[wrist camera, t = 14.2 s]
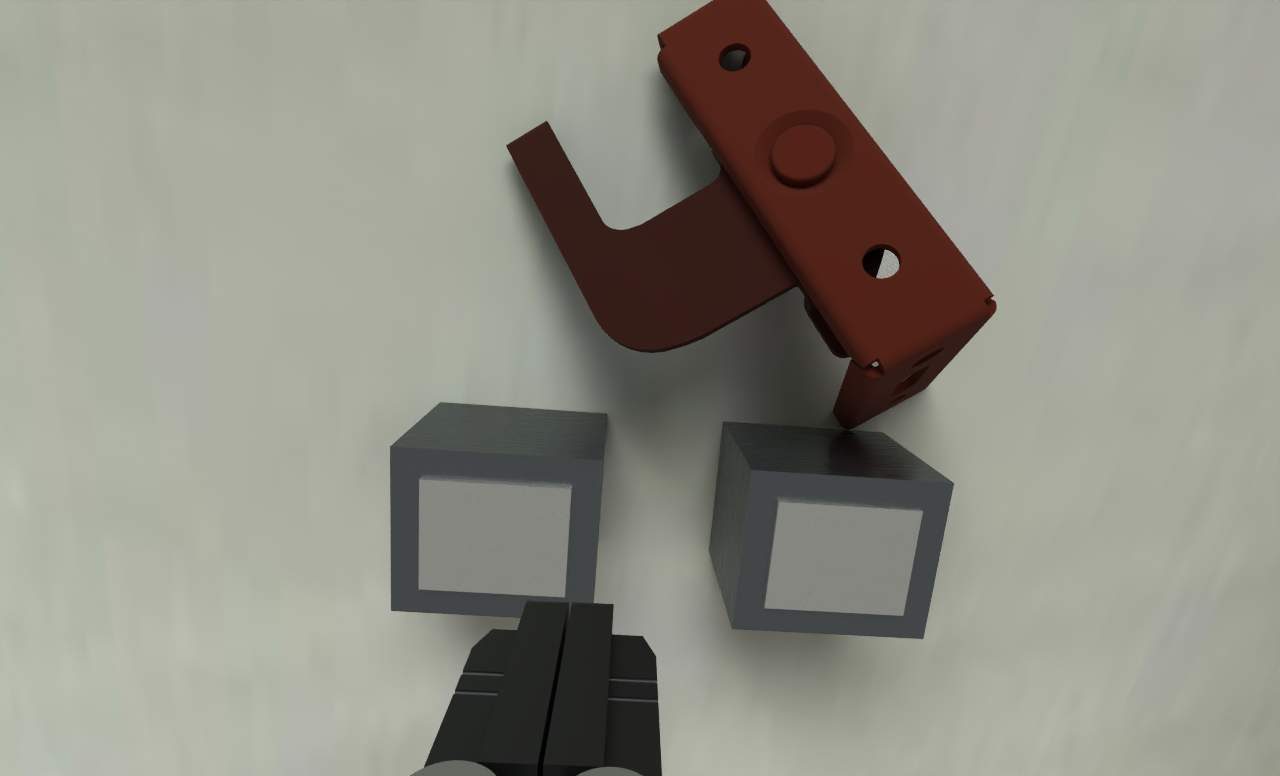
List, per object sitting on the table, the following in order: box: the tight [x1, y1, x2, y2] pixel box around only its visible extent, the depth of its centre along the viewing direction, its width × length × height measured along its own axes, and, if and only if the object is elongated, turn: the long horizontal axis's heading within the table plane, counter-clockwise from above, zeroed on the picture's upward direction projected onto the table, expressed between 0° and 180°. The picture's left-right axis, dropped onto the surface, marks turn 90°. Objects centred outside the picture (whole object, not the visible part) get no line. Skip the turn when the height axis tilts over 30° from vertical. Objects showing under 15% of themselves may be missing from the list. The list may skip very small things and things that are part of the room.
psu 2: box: [709, 422, 954, 639], centre depth 25 cm, size 7×6×6 cm
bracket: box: [506, 0, 997, 430], centre depth 25 cm, size 10×14×10 cm
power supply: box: [390, 402, 607, 618], centre depth 25 cm, size 7×6×6 cm
